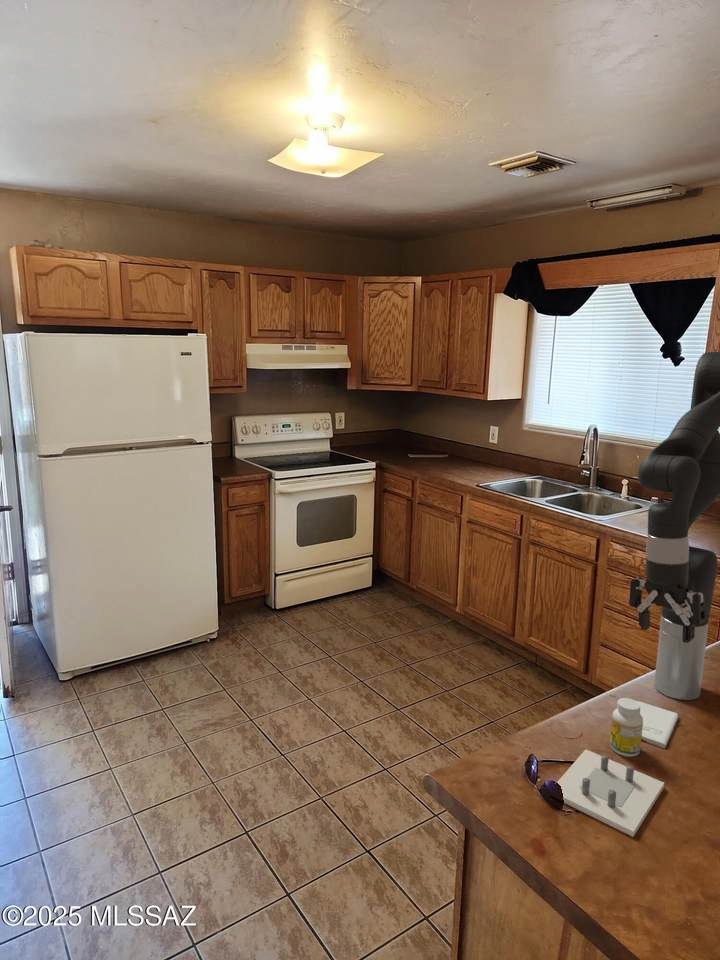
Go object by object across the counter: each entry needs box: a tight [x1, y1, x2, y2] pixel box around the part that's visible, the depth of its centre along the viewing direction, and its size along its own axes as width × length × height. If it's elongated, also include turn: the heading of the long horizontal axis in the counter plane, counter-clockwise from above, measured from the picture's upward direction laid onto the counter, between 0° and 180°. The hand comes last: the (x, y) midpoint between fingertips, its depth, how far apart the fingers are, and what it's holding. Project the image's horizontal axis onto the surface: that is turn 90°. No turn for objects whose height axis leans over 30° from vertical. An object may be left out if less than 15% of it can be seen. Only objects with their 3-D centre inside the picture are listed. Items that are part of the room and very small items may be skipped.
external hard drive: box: [637, 701, 679, 749], centre depth 127 cm, size 2×8×12 cm
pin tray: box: [556, 749, 665, 838], centre depth 108 cm, size 15×14×4 cm
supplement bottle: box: [609, 697, 643, 758], centre depth 119 cm, size 5×5×10 cm
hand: (665, 635), depth 125 cm, fingers open, 8 cm apart
